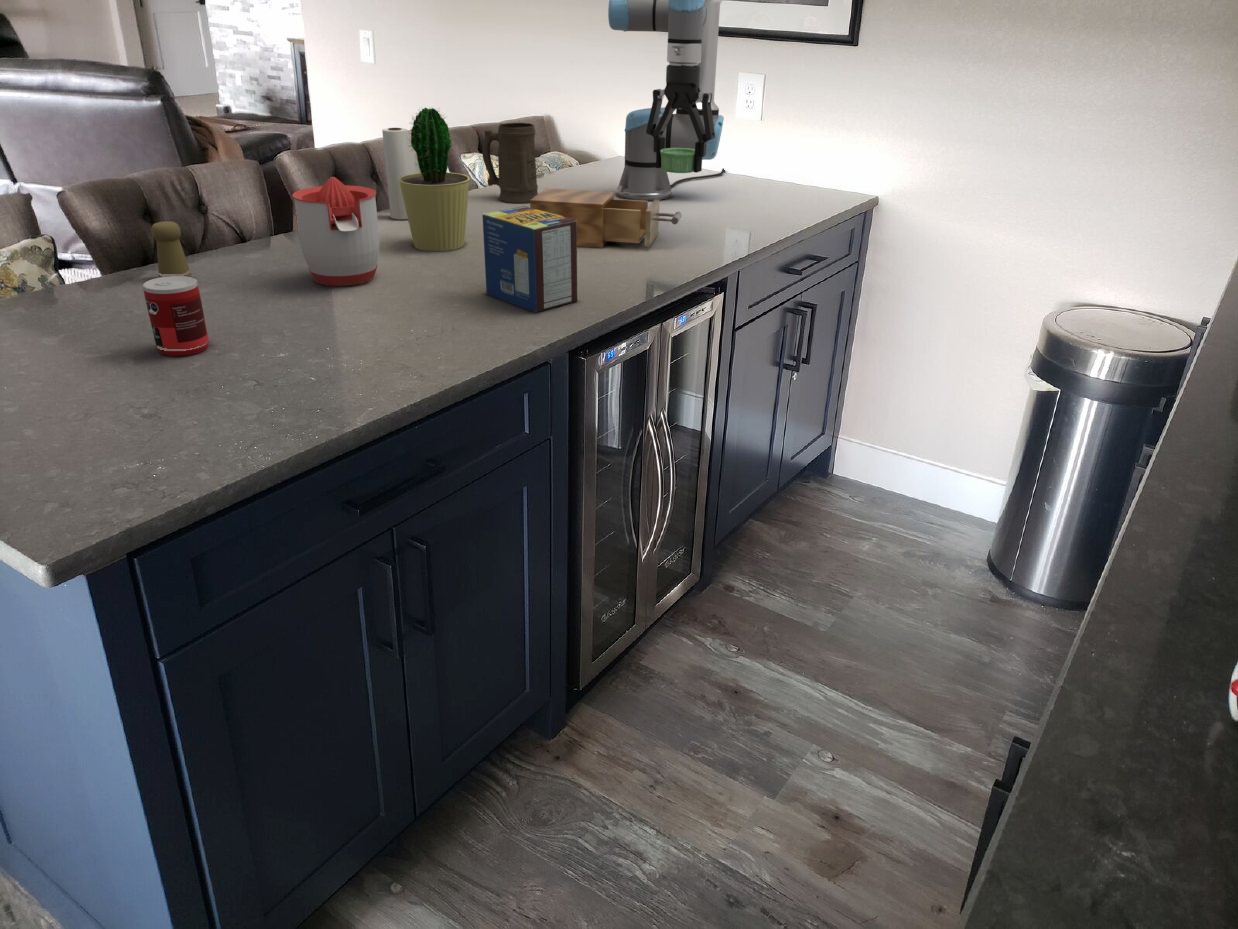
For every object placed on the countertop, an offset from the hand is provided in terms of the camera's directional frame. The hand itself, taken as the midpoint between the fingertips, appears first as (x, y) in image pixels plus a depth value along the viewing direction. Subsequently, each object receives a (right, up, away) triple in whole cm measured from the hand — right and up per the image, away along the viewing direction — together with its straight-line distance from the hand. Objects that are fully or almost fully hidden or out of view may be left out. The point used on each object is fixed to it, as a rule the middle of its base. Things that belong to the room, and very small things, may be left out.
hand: (678, 169), depth 216 cm
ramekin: (0, 0, 0) cm, 0 cm away
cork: (-102, -32, -30) cm, 111 cm away
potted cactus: (-55, -19, -4) cm, 58 cm away
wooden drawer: (-10, -16, +1) cm, 19 cm away
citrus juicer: (-69, -32, -30) cm, 81 cm away
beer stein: (-44, +5, +41) cm, 60 cm away
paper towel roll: (-68, -6, +19) cm, 71 cm away
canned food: (-85, -50, -65) cm, 118 cm away
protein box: (-31, -37, -38) cm, 61 cm away
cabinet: (-25, -15, +4) cm, 29 cm away
